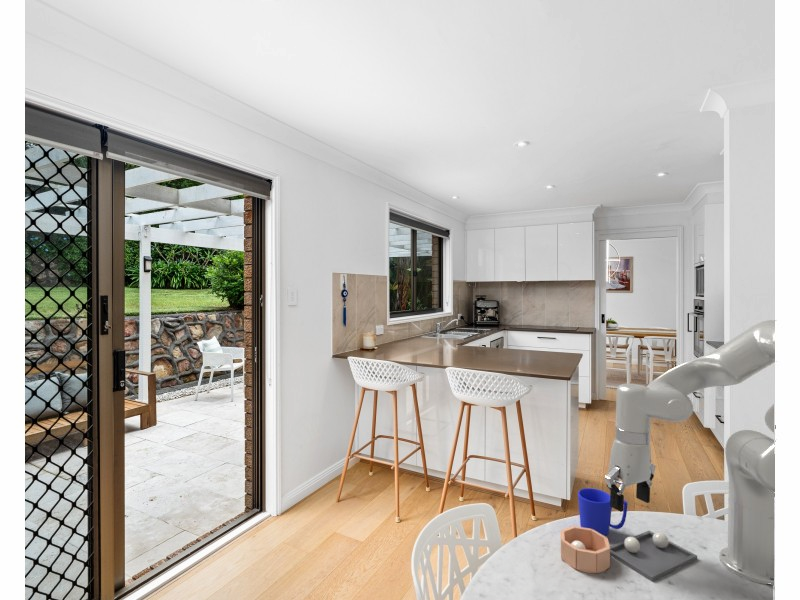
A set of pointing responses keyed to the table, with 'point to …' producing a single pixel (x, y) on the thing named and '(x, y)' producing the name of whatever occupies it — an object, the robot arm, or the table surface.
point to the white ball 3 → (660, 540)
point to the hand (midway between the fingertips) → (629, 504)
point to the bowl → (589, 559)
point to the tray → (652, 557)
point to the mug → (597, 510)
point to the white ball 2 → (632, 544)
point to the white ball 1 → (578, 545)
